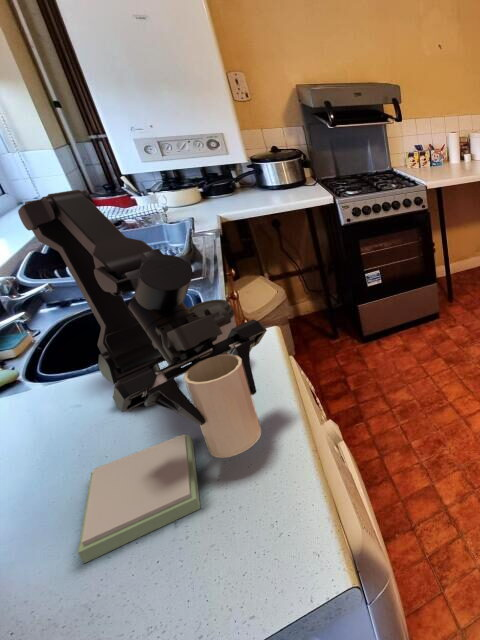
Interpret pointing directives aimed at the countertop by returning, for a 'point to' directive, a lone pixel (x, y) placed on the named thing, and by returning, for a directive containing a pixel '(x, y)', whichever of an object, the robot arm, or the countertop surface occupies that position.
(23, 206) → the robot arm
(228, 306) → the coffee cup
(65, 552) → the countertop surface
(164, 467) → the kitchen scale
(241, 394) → the cream cup
